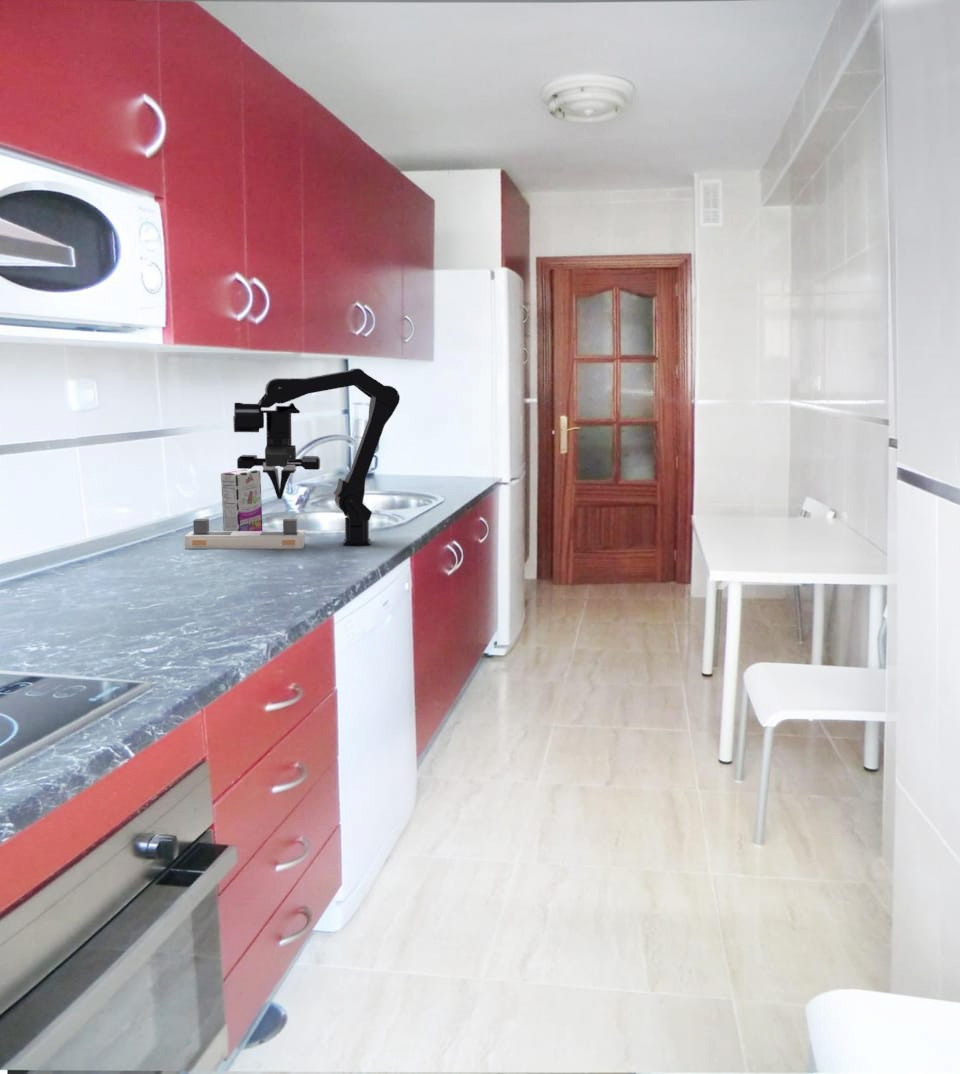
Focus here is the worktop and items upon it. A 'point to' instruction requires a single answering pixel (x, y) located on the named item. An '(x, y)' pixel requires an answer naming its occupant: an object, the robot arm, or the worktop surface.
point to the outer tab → (201, 525)
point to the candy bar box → (242, 500)
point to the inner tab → (290, 526)
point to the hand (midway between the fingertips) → (279, 498)
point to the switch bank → (245, 540)
